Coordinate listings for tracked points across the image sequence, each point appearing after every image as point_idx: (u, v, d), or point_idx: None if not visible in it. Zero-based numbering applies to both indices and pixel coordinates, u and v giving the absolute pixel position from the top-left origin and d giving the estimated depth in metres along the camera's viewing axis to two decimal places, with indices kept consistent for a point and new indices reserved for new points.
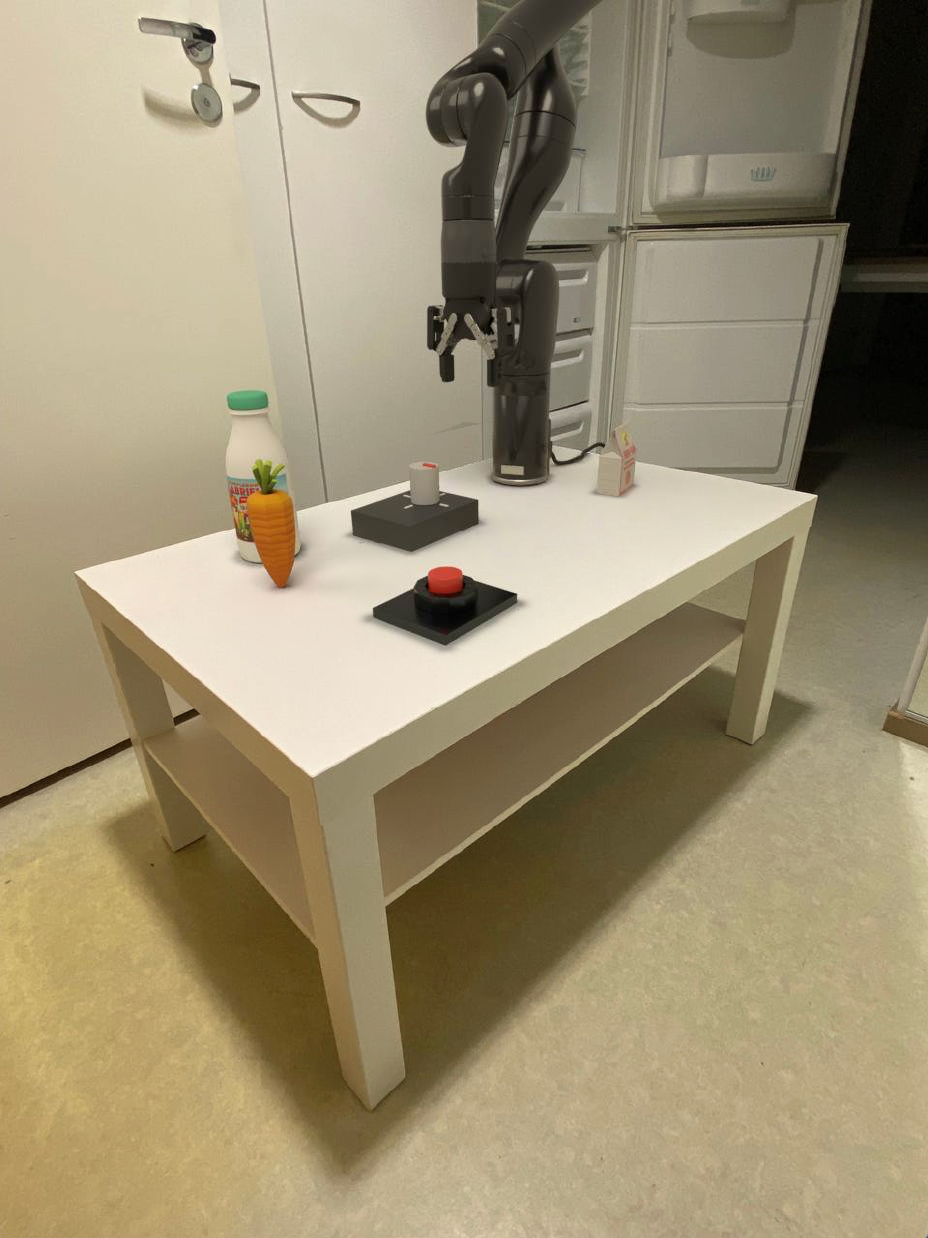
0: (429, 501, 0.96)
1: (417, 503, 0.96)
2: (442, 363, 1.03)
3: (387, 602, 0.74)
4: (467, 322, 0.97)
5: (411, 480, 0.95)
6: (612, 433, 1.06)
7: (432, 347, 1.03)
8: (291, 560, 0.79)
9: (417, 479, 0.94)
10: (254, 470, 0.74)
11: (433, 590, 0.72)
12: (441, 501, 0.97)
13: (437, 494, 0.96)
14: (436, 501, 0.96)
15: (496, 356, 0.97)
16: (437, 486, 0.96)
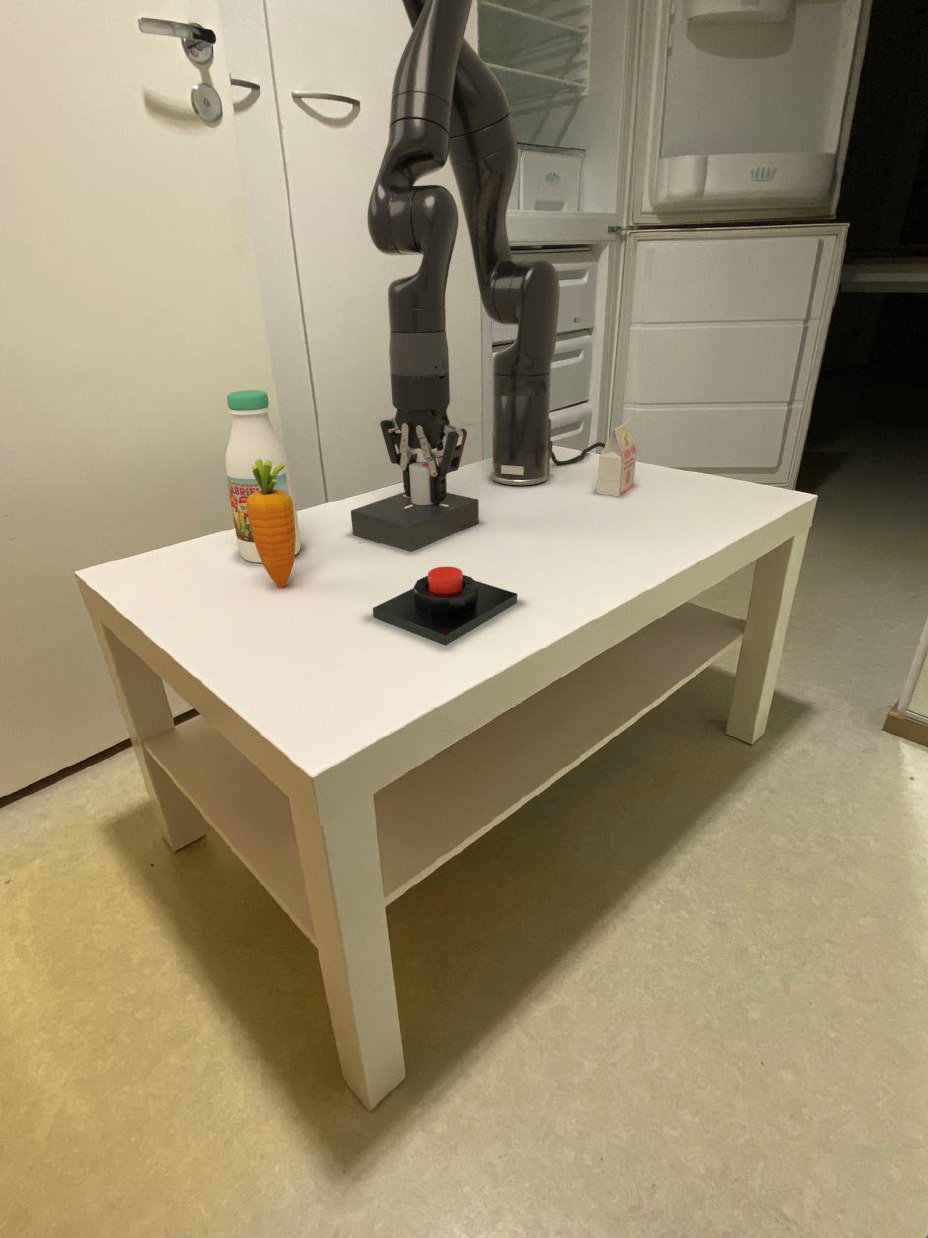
0: (428, 501, 0.96)
1: (417, 503, 0.96)
2: None
3: (387, 602, 0.74)
4: None
5: (411, 480, 0.95)
6: (612, 433, 1.06)
7: None
8: (291, 560, 0.79)
9: (417, 479, 0.94)
10: (254, 470, 0.74)
11: (433, 590, 0.72)
12: None
13: None
14: None
15: None
16: None
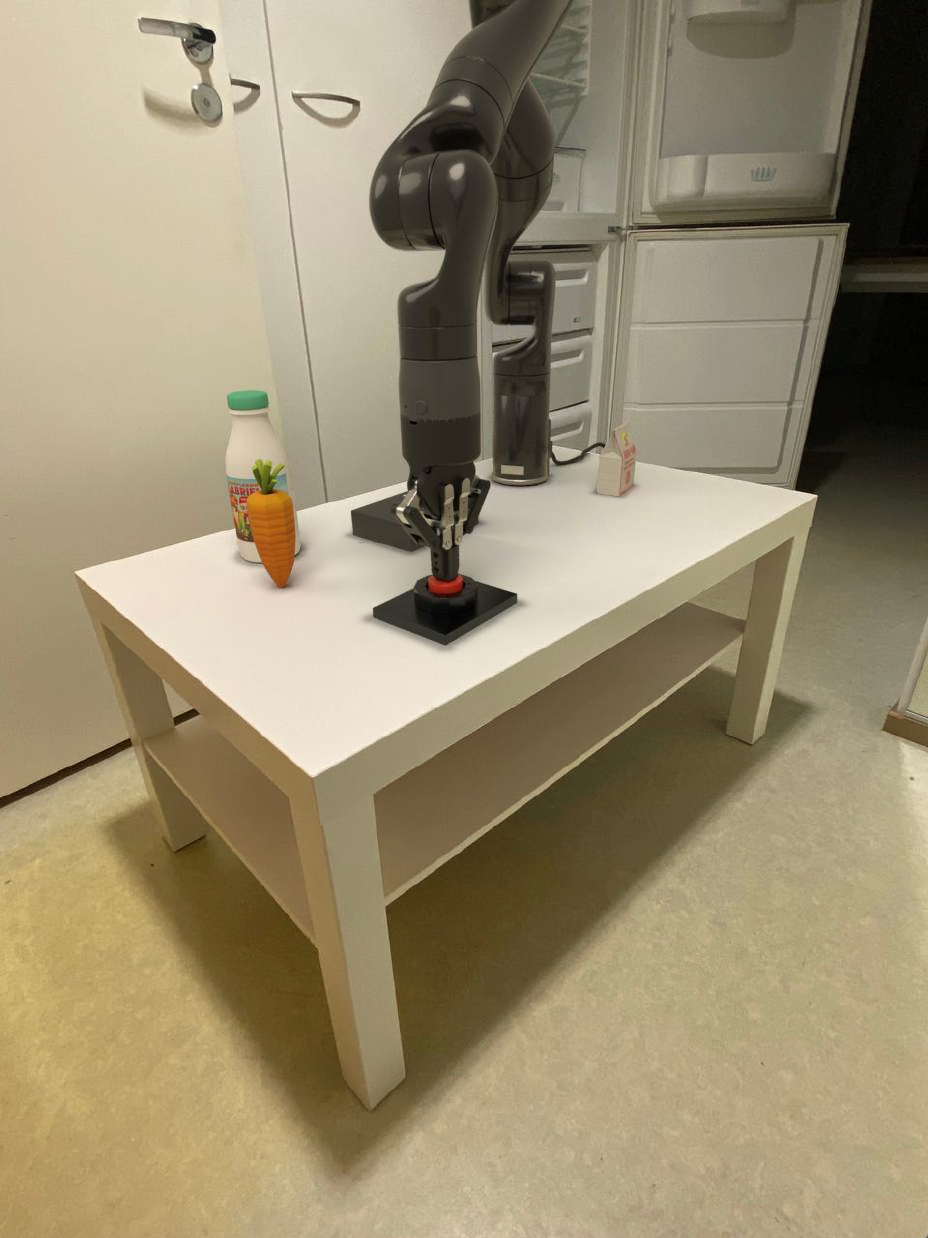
0: None
1: None
2: (450, 558, 0.71)
3: (387, 602, 0.74)
4: (466, 489, 0.68)
5: None
6: (612, 433, 1.06)
7: (439, 540, 0.69)
8: (291, 560, 0.79)
9: None
10: (254, 470, 0.74)
11: None
12: None
13: None
14: None
15: None
16: None
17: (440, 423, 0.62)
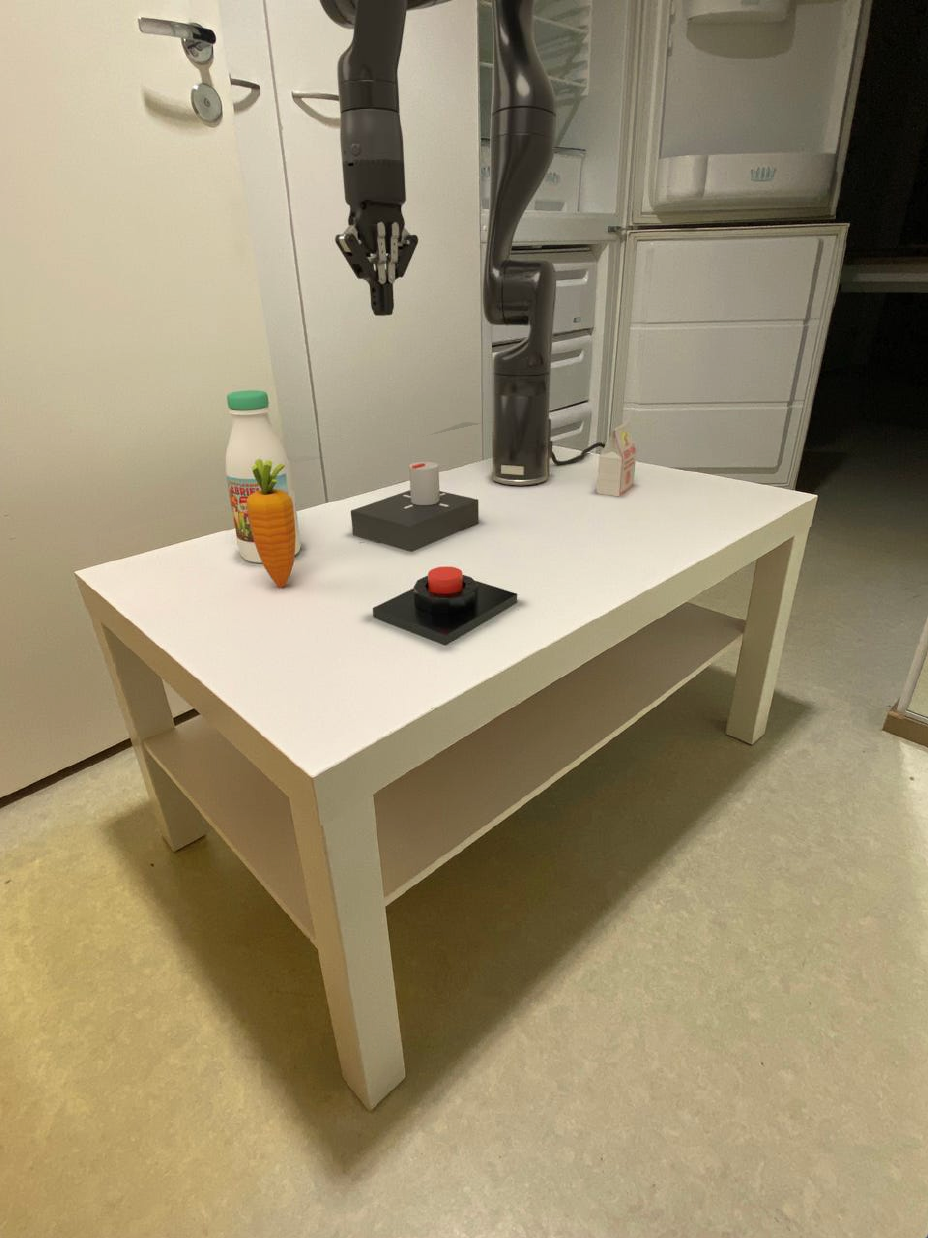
0: (411, 498, 0.97)
1: None
2: (385, 293, 0.91)
3: (387, 602, 0.74)
4: (395, 232, 0.88)
5: None
6: (612, 433, 1.06)
7: (374, 272, 0.88)
8: (291, 560, 0.79)
9: None
10: (254, 470, 0.74)
11: (433, 590, 0.72)
12: (441, 501, 0.97)
13: (416, 496, 0.96)
14: (415, 502, 0.96)
15: None
16: (416, 488, 0.95)
17: (370, 162, 0.82)
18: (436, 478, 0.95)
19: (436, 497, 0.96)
